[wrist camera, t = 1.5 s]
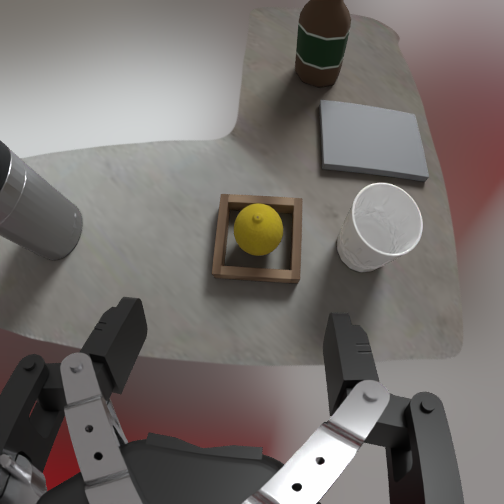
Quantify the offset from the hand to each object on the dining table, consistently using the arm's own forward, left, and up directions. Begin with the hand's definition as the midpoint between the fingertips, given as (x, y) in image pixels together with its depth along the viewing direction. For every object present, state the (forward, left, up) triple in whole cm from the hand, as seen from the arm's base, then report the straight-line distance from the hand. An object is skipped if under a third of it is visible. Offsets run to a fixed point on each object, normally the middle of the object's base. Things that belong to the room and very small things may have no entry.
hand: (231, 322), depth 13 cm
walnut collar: (0, +11, -25) cm, 27 cm away
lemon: (0, +11, -25) cm, 27 cm away
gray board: (+16, +28, -25) cm, 41 cm away
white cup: (+13, +12, -25) cm, 30 cm away
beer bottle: (+8, +42, -25) cm, 50 cm away
